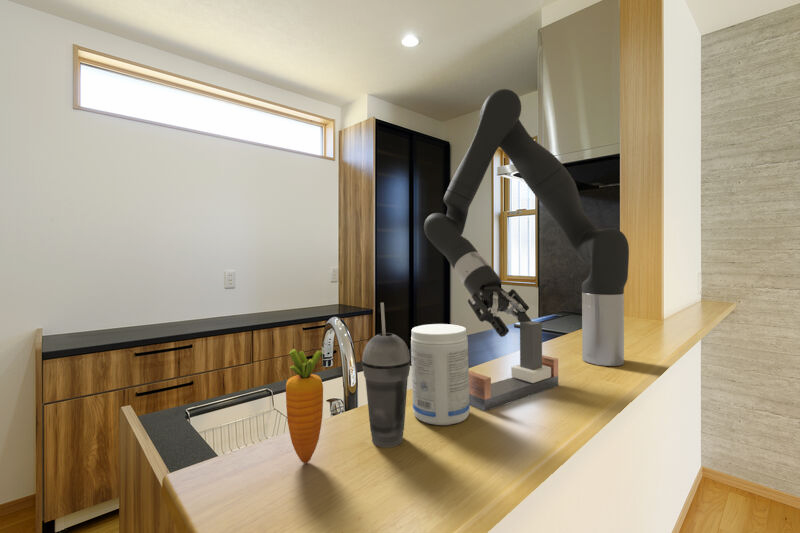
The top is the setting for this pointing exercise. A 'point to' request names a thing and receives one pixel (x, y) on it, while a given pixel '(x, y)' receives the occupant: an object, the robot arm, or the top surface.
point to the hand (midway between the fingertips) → (518, 331)
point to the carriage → (531, 354)
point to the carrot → (304, 405)
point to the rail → (508, 387)
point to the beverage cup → (386, 385)
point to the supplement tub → (440, 373)
